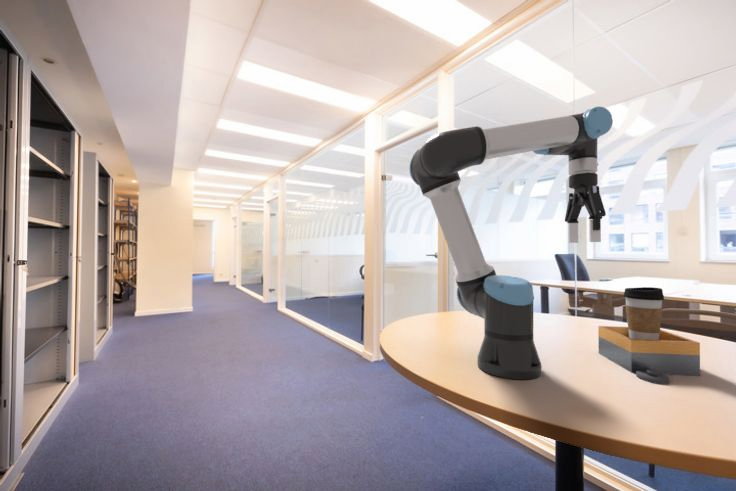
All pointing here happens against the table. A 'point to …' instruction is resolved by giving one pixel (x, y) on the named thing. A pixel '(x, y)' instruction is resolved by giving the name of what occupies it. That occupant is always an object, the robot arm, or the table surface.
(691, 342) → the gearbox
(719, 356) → the table surface
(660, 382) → the disc
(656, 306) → the coffee cup
